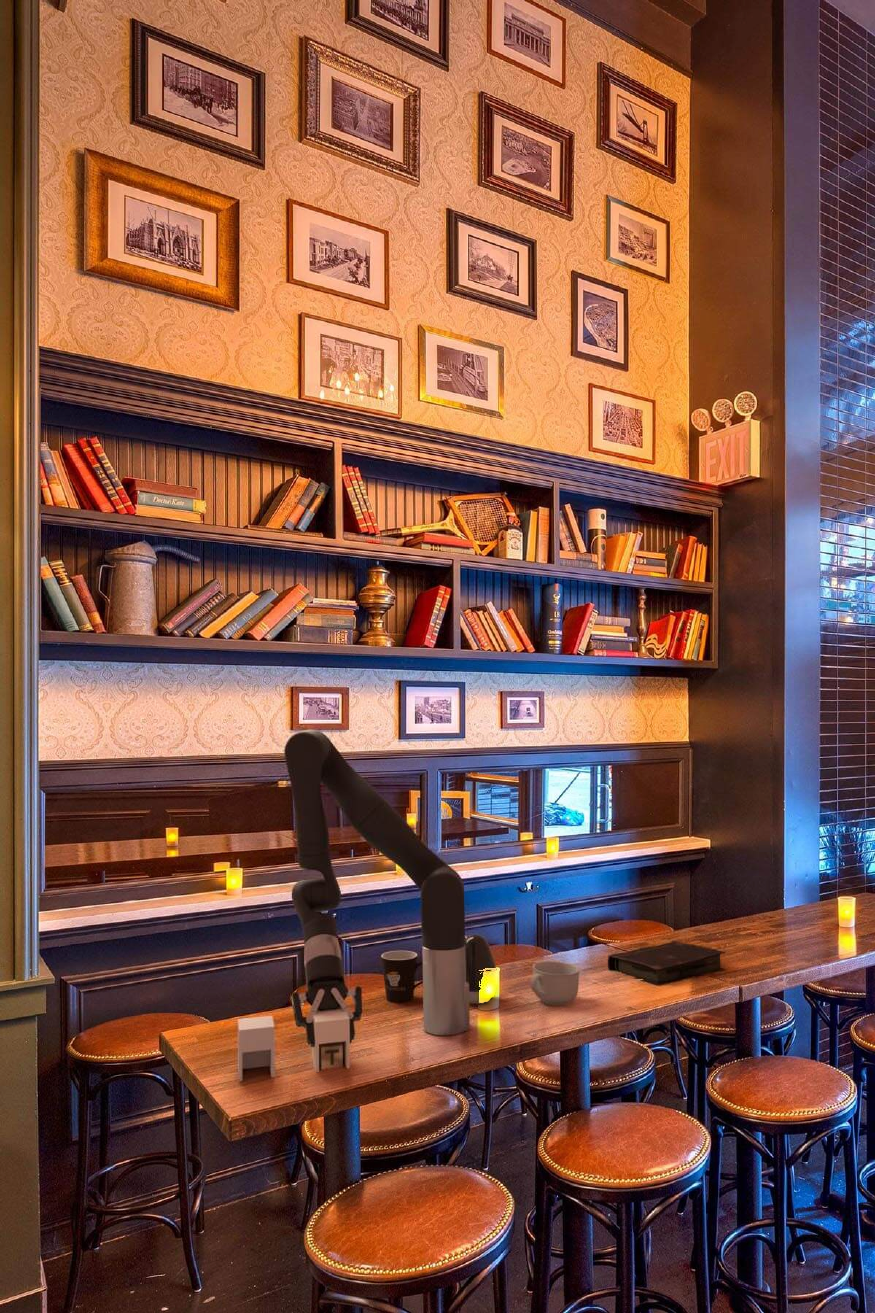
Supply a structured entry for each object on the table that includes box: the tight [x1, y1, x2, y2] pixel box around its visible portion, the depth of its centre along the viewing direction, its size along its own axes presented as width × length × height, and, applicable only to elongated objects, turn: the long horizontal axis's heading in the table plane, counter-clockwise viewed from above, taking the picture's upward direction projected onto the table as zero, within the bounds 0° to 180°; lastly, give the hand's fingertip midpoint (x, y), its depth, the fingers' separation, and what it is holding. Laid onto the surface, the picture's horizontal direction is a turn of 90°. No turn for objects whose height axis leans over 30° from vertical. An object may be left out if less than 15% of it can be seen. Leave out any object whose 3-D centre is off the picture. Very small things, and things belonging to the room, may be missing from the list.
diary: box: [607, 940, 727, 986], centre depth 222 cm, size 19×25×5 cm
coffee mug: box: [380, 950, 423, 1004], centre depth 201 cm, size 12×9×10 cm
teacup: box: [529, 960, 580, 1007], centre depth 197 cm, size 14×11×8 cm
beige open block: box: [311, 1009, 351, 1073], centre depth 163 cm, size 6×6×9 cm
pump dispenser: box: [465, 933, 497, 1005], centre depth 200 cm, size 10×10×15 cm
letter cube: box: [319, 1042, 344, 1070], centre depth 162 cm, size 4×4×4 cm
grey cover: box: [237, 1015, 276, 1082], centre depth 159 cm, size 6×6×9 cm
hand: (331, 1043), depth 161 cm, fingers closed on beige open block, 6 cm apart
